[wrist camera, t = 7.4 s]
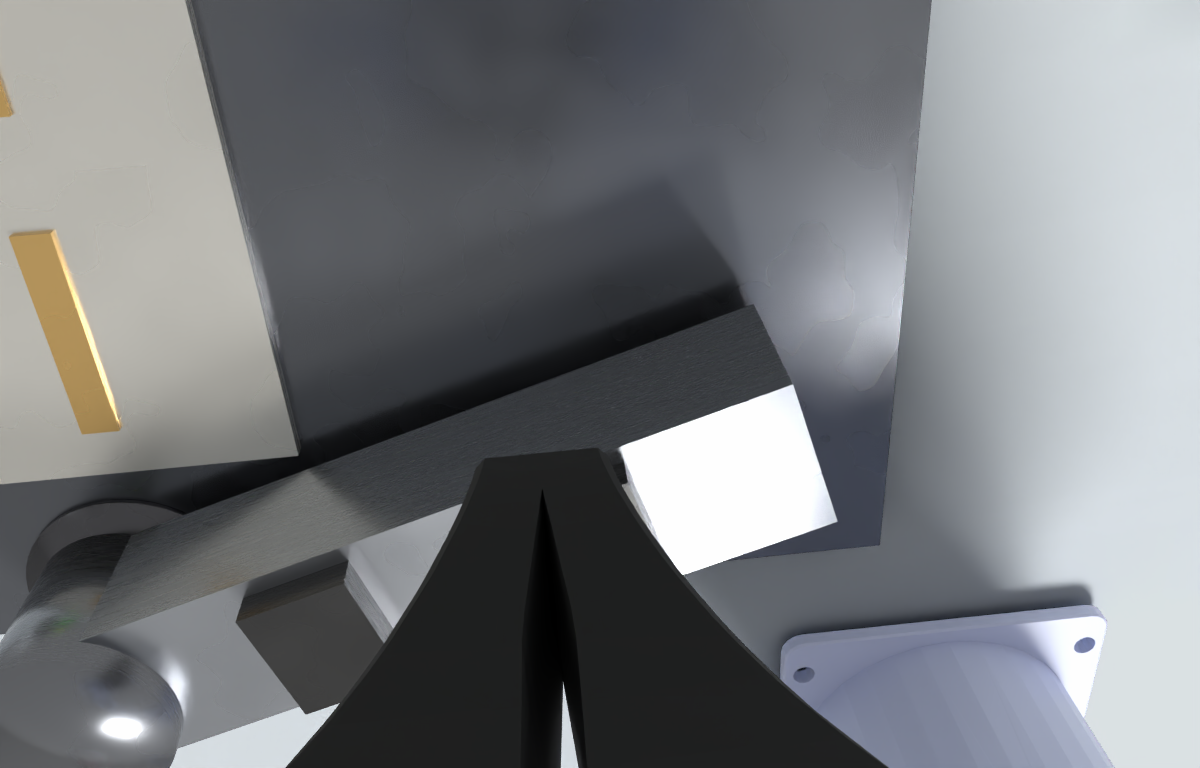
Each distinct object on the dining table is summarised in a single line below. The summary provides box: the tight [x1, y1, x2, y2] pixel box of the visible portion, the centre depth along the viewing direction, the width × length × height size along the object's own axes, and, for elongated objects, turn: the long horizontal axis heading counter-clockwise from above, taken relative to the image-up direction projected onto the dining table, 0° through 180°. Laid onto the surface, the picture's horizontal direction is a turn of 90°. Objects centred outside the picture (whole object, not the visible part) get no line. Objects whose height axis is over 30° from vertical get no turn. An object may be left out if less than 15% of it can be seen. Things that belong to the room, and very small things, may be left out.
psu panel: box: [0, 0, 932, 634], centre depth 19 cm, size 17×20×1 cm
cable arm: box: [0, 304, 838, 768], centre depth 19 cm, size 16×4×4 cm, turn 111°
